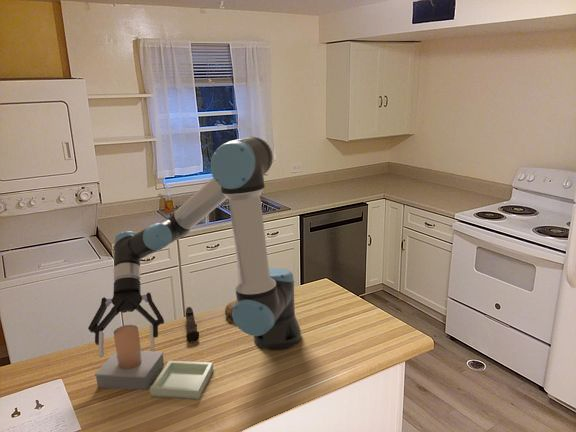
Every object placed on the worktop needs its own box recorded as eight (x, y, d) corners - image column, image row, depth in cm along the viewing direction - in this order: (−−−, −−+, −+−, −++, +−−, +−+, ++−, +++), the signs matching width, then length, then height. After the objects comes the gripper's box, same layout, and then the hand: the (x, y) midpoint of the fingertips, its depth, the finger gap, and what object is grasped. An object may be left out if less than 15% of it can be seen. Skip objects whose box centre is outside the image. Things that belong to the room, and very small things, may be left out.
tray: (213, 370, 131) (212, 362, 131) (198, 399, 119) (198, 390, 118) (170, 368, 133) (169, 360, 133) (151, 396, 121) (150, 388, 120)
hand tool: (199, 342, 148) (198, 328, 146) (187, 343, 147) (185, 330, 146) (197, 315, 165) (196, 304, 164) (186, 317, 165) (185, 305, 163)
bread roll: (223, 327, 164) (217, 312, 159) (235, 304, 171) (229, 290, 166) (248, 331, 160) (242, 317, 155) (259, 308, 167) (254, 294, 162)
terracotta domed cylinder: (145, 356, 132) (141, 325, 129) (135, 369, 126) (131, 336, 123) (125, 355, 133) (120, 324, 130) (114, 368, 127) (109, 335, 124)
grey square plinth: (164, 364, 135) (163, 351, 134) (146, 390, 123) (144, 376, 122) (118, 362, 137) (117, 349, 136) (96, 387, 125) (94, 374, 124)
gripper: (171, 281, 142) (174, 349, 132) (85, 290, 138) (82, 362, 127) (168, 271, 136) (172, 342, 126) (79, 280, 131) (75, 355, 121)
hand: (127, 352), depth 126 cm, fingers open, 13 cm apart
